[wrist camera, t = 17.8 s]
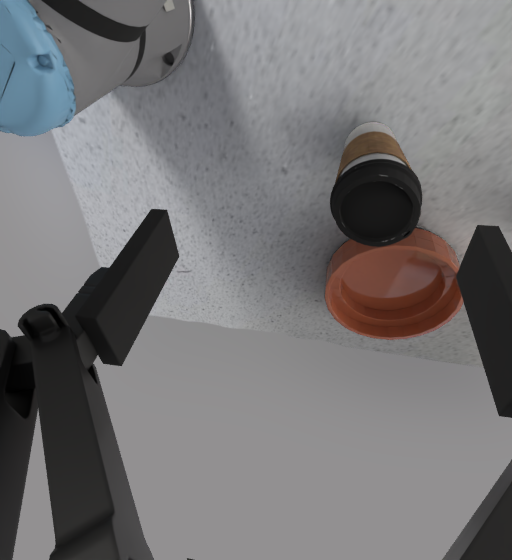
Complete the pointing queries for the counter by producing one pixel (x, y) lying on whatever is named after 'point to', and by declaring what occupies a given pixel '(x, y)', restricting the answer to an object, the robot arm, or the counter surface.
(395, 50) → the counter surface
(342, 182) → the coffee cup
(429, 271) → the bowl
